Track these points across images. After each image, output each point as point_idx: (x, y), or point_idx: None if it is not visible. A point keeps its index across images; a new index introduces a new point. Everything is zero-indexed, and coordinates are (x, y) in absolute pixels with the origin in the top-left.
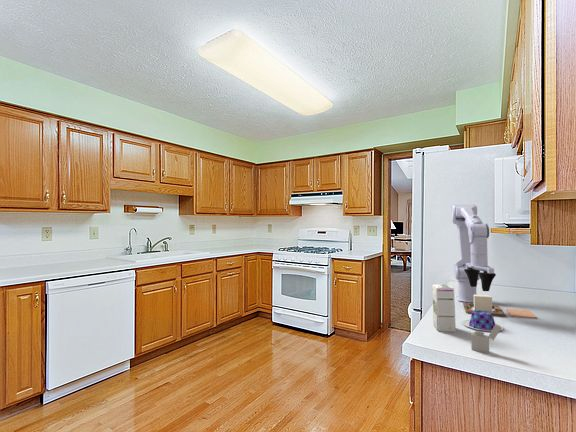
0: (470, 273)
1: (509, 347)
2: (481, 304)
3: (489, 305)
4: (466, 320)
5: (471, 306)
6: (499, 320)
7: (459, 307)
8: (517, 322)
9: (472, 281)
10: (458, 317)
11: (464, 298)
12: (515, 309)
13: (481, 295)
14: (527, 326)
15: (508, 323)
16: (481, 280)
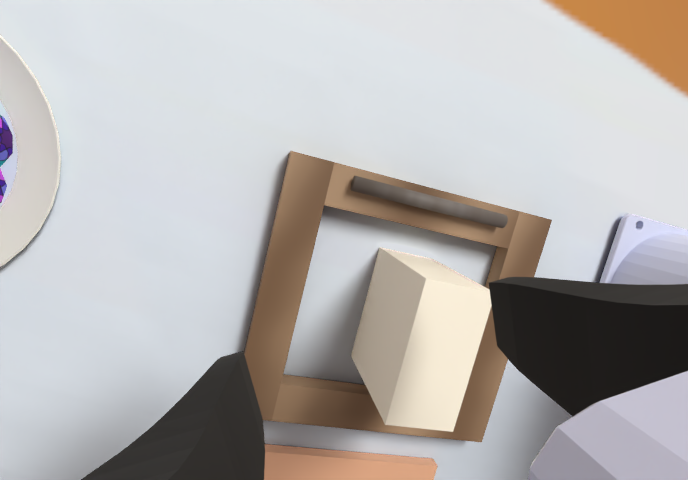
0: (684, 360)
1: None
2: (383, 309)
3: (368, 363)
4: (10, 53)
5: (493, 262)
6: (133, 336)
7: (464, 163)
8: (109, 439)
9: (545, 325)
10: (147, 35)
11: (637, 262)
12: None
13: (456, 353)
14: (13, 471)
15: (61, 372)
16: (184, 429)
